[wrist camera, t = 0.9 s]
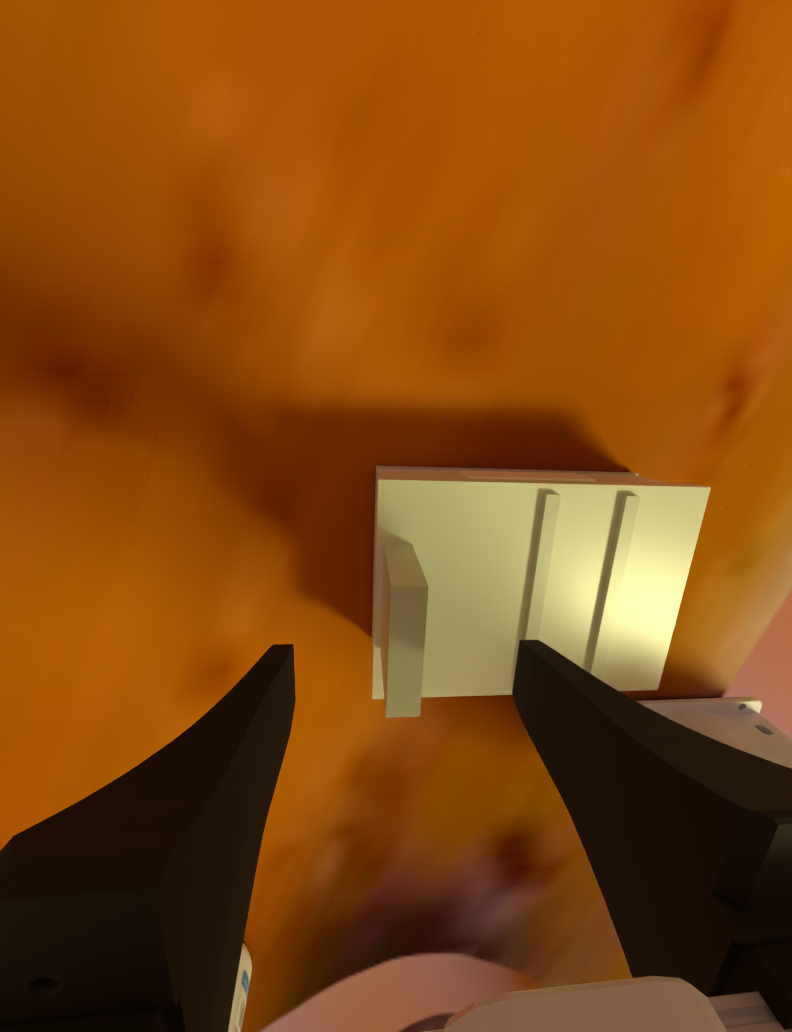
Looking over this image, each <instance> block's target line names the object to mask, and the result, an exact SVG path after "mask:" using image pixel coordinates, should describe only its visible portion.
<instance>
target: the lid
mask: <svg viewBox="0 0 792 1032" xmlns="http://www.w3.org/2000/svg"><path fill="white" fill-rule="evenodd" d="M710 489H711V487H707V486H703V485H698V484H680V483H638V482H597V481H555V480H514V479H472V478H430V477H389V476H377V507H376V545H375V583H374V621H373V659H372V699H384V701H385V713H386V718H394V717H420V707H421V698H423V697H454V696H484V695H513V694H512V690H513V683H514V676H515V669H516V662H517V655H518V648H519V641H520V640H539V641H541V642H543V643H544V644H546V645H548V646H549V647H551V648H552V649H554V650H555V651H557V652H559V653H560V654H562V655H563V656H565V657H566V658H568V659H569V660H571V661H572V662H574V663H575V664H577V665H578V666H580V667H581V668H583V669H584V670H586V671H587V672H589V673H590V674H592V675H593V676H595V677H596V678H598V679H600V680H601V681H603V682H604V683H606V684H608V685H609V686H611V687H612V688H614V689H616V690H618V691H639V690H658V687H659V683H660V679H661V676H662V672H663V668H664V664H665V660H666V657H667V653H668V649H669V645H670V641H671V638H672V634H673V630H674V626H675V622H676V618H677V615H678V611H679V607H680V603H681V599H682V596H683V592H684V588H685V584H686V580H687V577H688V573H689V569H690V565H691V561H692V558H693V554H694V550H695V546H696V542H697V538H698V535H699V531H700V527H701V523H702V519H703V516H704V512H705V508H706V504H707V500H708V497H709V493H710Z"/></svg>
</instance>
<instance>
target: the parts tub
mask: <svg viewBox="0 0 792 1032" xmlns="http://www.w3.org/2000/svg"><path fill="white" fill-rule="evenodd" d="M377 476H389V477H430V478H472V479H514V480H555V481H597V482H638V483H666V482H662V481H658V480H653V479H649V478H645V477H641V476H638V473H633V472H604V471H567V470H529V469H492V468H455V467H417V466H380V465H376V484H375V524H374V563H373V603H372V643H373V621H374V583H375V545H376V507H377Z"/></svg>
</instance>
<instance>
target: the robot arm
mask: <svg viewBox="0 0 792 1032" xmlns="http://www.w3.org/2000/svg"><path fill="white" fill-rule="evenodd" d="M512 694H513V697H514V700H515V703H516V706H517V709H518V711H519V714H520V716H521V719H522V721H523V724H524V726H525V728H526V730H527V732H528V734H529V736H530V738H531V740H532V742H533V744H534V745H535V747H536V749H537V751H538V753H539V755H540V757H541V759H542V761H543V763H544V764H545V766H546V768H547V770H548V772H549V774H550V776H551V778H552V780H553V781H554V783H555V785H556V787H557V789H558V791H559V793H560V795H561V797H562V799H563V801H564V803H565V805H566V807H567V809H568V811H569V813H570V816H571V818H572V820H573V823H574V825H575V827H576V830H577V832H578V835H579V837H580V839H581V842H582V844H583V846H584V849H585V851H586V854H587V856H588V859H589V861H590V864H591V866H592V869H593V871H594V874H595V877H596V879H597V882H598V884H599V887H600V889H601V892H602V894H603V897H604V899H605V902H606V905H607V908H608V910H609V913H610V916H611V918H612V921H613V924H614V927H615V929H616V932H617V935H618V937H619V940H620V943H621V946H622V948H623V951H624V954H625V957H626V960H627V963H628V965H629V968H630V971H631V974H632V977H633V978H630V979H621V980H613V981H604V982H595V983H586V984H577V985H568V986H559V987H551V988H542V989H533V990H524V991H515V992H507V993H503V994H499V995H496V996H492V997H489V998H485V999H481V1000H478V1001H475V1002H473V1003H471V1004H470V1005H468V1006H467V1007H465V1008H464V1009H462V1010H461V1011H460V1012H458V1013H457V1014H455V1015H454V1016H452V1017H451V1018H449V1019H448V1021H447V1023H446V1025H445V1027H444V1029H441V1030H432V1031H424V1032H792V738H791V737H789V736H788V735H786V734H785V733H784V732H783V731H781V730H780V729H779V728H777V727H776V726H774V725H773V724H772V723H771V722H769V721H768V720H767V719H765V718H764V717H763V716H762V715H760V714H759V712H760V709H761V707H762V703H761V701H759V700H758V699H757V698H755V697H734V698H706V699H677V700H649V701H635V700H633V699H631V698H629V697H628V696H626V695H624V694H623V693H621V692H619V691H618V690H616V689H614V688H612V687H611V686H609V685H608V684H606V683H604V682H603V681H601V680H600V679H598V678H596V677H595V676H593V675H592V674H590V673H589V672H587V671H586V670H584V669H583V668H581V667H580V666H578V665H577V664H575V663H574V662H572V661H571V660H569V659H568V658H566V657H565V656H563V655H562V654H560V653H559V652H557V651H555V650H554V649H552V648H551V647H549V646H548V645H546V644H544V643H543V642H541V641H539V640H520V641H519V648H518V655H517V662H516V669H515V676H514V683H513V690H512ZM294 707H295V674H294V647H293V644H283V645H272V646H271V647H270V648H269V649H268V650H267V651H266V652H265V654H264V655H263V656H262V657H261V658H260V659H259V660H258V662H257V663H256V664H255V665H254V666H253V667H252V668H251V669H250V670H249V671H248V673H247V674H246V675H245V676H244V677H243V678H242V679H241V680H240V681H239V682H238V683H237V684H236V685H235V686H234V687H233V688H232V689H231V690H230V691H229V692H228V693H227V694H226V695H225V696H224V697H223V698H222V699H221V700H220V701H219V702H218V703H217V704H216V705H215V706H214V707H212V708H211V709H210V710H209V711H208V712H207V713H206V714H205V715H204V716H203V717H201V718H200V719H199V720H198V721H197V722H196V723H195V724H193V725H192V726H191V727H190V728H188V729H187V730H186V731H185V732H183V733H182V734H181V735H180V736H178V737H177V738H176V739H174V740H173V741H172V742H170V743H169V744H168V745H166V746H165V747H163V748H162V749H160V750H159V751H158V752H156V753H155V754H153V755H152V756H150V757H149V758H148V759H146V760H145V761H143V762H142V763H141V764H139V765H138V766H136V767H135V768H133V769H132V770H130V771H129V772H127V773H125V774H124V775H122V776H121V777H119V778H117V779H116V780H114V781H113V782H111V783H109V784H108V785H106V786H104V787H103V788H101V789H99V790H98V791H96V792H94V793H93V794H91V795H89V796H88V797H86V798H84V799H82V800H81V801H79V802H77V803H75V804H73V805H72V806H70V807H68V808H66V809H64V810H62V811H60V812H58V813H57V814H55V815H53V816H51V817H49V818H47V819H45V820H43V821H42V822H40V823H38V824H36V825H34V826H32V827H30V828H28V829H26V830H24V831H22V832H20V833H18V834H16V835H14V836H13V837H12V838H11V840H10V841H9V842H8V843H7V844H6V845H5V846H4V848H3V849H2V850H1V851H0V1032H228V1029H229V1023H230V1017H231V1010H232V1004H233V998H234V992H235V986H236V980H237V974H238V969H239V963H240V957H241V951H242V945H243V939H244V933H245V928H246V922H247V917H248V911H249V906H250V900H251V895H252V889H253V884H254V878H255V873H256V868H257V862H258V857H259V852H260V847H261V841H262V836H263V832H264V827H265V823H266V819H267V815H268V811H269V808H270V804H271V801H272V797H273V793H274V790H275V786H276V783H277V779H278V776H279V772H280V768H281V765H282V761H283V758H284V754H285V750H286V747H287V743H288V740H289V736H290V731H291V725H292V719H293V713H294Z"/></svg>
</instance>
